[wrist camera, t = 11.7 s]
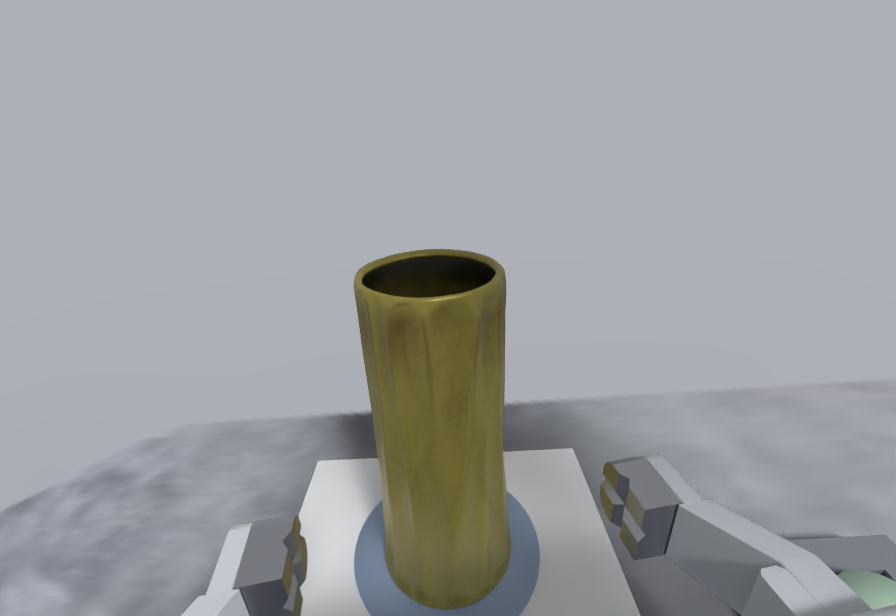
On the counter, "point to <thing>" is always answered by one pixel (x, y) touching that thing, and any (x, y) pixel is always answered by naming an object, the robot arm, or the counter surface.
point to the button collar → (854, 553)
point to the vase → (438, 419)
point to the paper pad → (532, 554)
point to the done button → (871, 587)
